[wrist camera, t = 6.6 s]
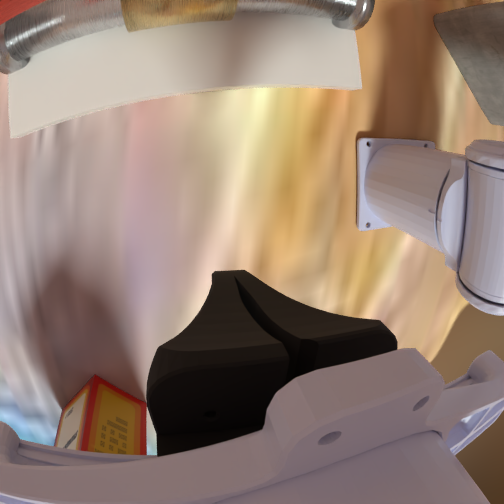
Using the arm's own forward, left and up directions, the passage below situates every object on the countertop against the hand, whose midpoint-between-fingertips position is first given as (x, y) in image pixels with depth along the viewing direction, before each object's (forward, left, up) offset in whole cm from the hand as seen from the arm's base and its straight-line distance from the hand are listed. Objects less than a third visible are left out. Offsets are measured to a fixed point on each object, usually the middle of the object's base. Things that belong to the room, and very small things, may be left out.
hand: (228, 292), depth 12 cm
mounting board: (+1, -16, -10) cm, 19 cm away
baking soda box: (+16, +19, -11) cm, 26 cm away
